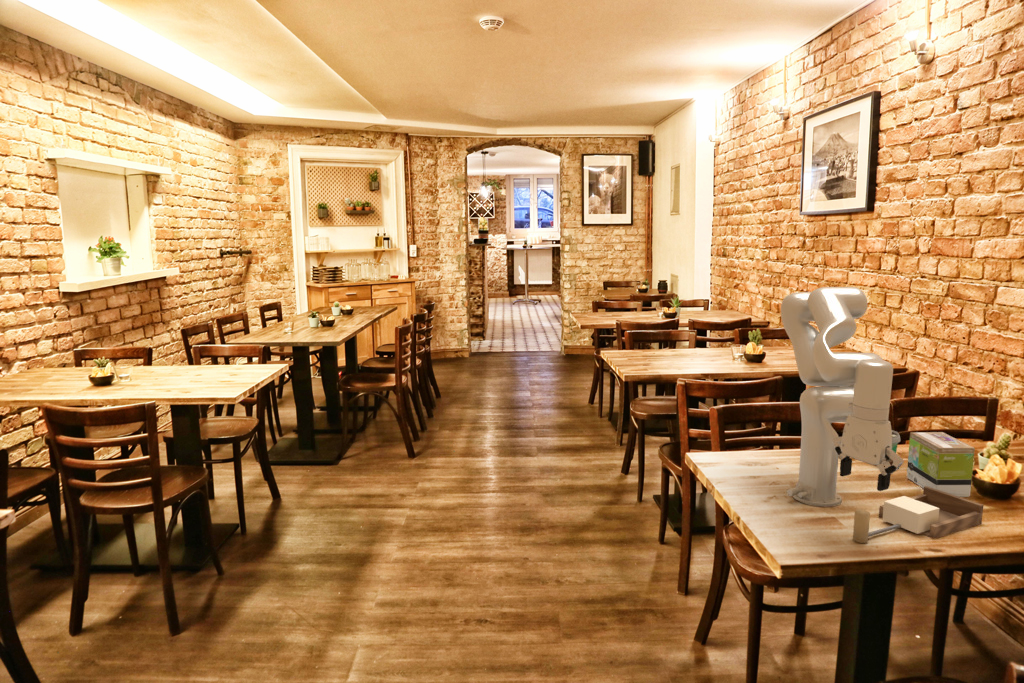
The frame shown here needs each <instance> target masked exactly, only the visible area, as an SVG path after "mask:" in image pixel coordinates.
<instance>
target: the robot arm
mask: <svg viewBox="0 0 1024 683" xmlns="http://www.w3.org/2000/svg"><path fill="white" fill-rule="evenodd" d="M867 310H868V299H867V295H866V294H865V293H864V291H863V290H862V289H860V288H859V287H856V286H823V287H822V286H821V287H818V288H816V289H813V291H802V292H801V291H799V292H793V293H789V294H787V295H786V296H785V297H784V298H782V301H781V304H780V317H781V323H782V326H783V329H784V331H785V333H786V335H787V336H788V338H789V340H790V342H791V344H792V348H793V353H794V357H795V361H796V366H797V371H798V376H799V378H800V380H801V382H802V383H803V384H805V385H807V386H809V388H805V390H803V392H802V393H800V397H799V409H800V417H801V418H800V419H801V435H800V436H801V438H800V453H799V454H800V455H799V467H798V468H799V471H798V481H797V482H796V483H795V485H796V486H795V487H793V488H789V489H787V490H786V494H787V496H788V497H792V498H793V499H794V500H796V501H798V502H800V503H803V504H805V505H809V506H815V507H823V508H824V507H825V508H826V507H829V508H830V507H836V506H839V505H841V503H842V502H843V501H842V500H843V499H842V496H841V495H840V494H839V493H838V492H837V484H838V481H837V480H838V469H839V476H840V477H847V476H850V475H851V474H852V466H853V459H854V460H857V461H859V462H861V463H862V462H863V463H866V464H868V465H872V466H874V465H877V466H876V467H877V468H878V470H879V472H880V473H878V475H877V483H876V490H877V491H879V492H882V491H886V490H888V489H889V487H890V485H891V477H892V476H891V475H892V474H894V473H895V472H897V471H899V470H900V467H901V466H902V465H903V464H904V461H905V460H904V459H903V458H902V457H901V456H900V455H898V454H897V452H896V453H895V452H894V451H893V450H892V430H893V429H892V425H891V421H890V420H889V414H890V406H891V405H890V404H891V395H892V388H893V387H892V384H893V377H894V376H893V375H894V366H893V364H892V363H891V362H889V361H887V360H884V359H883V358H882V357H881V356H880V355H879V354H877V353H873V352H854V351H853V352H850V351H849V352H846V351H845V352H844V351H843V352H841V351H840V352H839V351H838V352H833V351H832V350H831V348H834V347H835V346H838V345H840V344H843V343H845V342H847V341H848V340H850V339H851V338H852V337H853V336H854V335H855V334H856V331H857V323H856V321H855V320H856V319H860V318H862V317H863V316H865V314H866V312H867ZM810 322H815V324H816V327H817V328H815V327H814V326H813V325H812V324H810ZM810 386H811V387H810ZM832 423H845V424H844V427H843V431H842V436H839V434H838V433H837V431H836V430H835V429H834V428H833V426H832ZM890 459H892V460H893V464H892V465H890V463H889V461H890ZM839 460H840V463H839ZM839 464H840V465H839ZM883 464H884V465H883ZM884 466H885V467H884Z"/></svg>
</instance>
